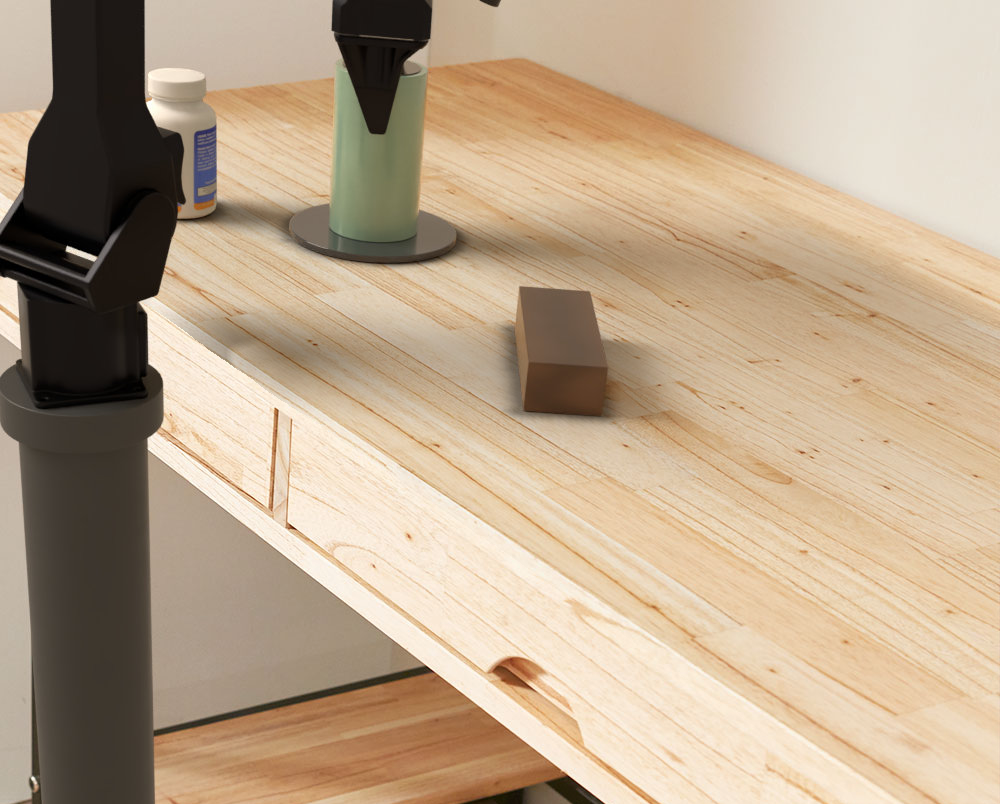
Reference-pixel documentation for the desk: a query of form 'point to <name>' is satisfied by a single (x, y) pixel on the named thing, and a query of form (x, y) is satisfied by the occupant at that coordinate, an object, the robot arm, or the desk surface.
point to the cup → (377, 161)
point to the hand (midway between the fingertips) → (379, 116)
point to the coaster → (426, 244)
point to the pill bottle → (188, 133)
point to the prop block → (559, 352)
